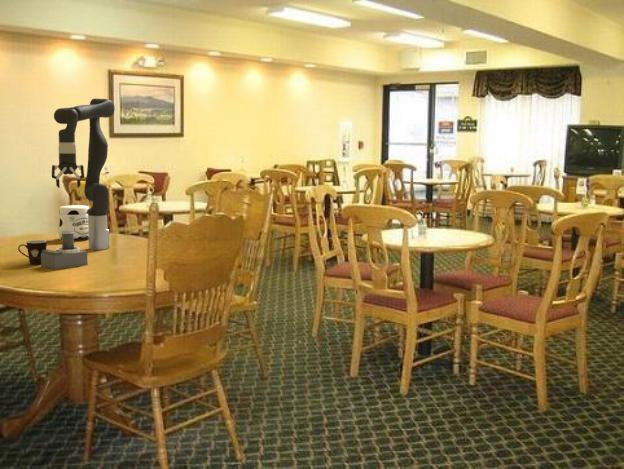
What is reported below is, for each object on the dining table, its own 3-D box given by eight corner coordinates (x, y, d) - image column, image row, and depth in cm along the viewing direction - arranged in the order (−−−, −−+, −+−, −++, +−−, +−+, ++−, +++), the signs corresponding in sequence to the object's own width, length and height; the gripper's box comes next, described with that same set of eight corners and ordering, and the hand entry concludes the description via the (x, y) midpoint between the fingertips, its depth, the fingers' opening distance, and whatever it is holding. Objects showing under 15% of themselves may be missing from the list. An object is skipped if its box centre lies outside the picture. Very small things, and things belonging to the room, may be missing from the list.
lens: (61, 251, 318) (61, 231, 316) (74, 250, 320) (73, 230, 318) (62, 252, 313) (61, 232, 312) (74, 252, 315) (74, 232, 314)
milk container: (85, 242, 381) (84, 208, 379) (53, 241, 381) (52, 208, 379) (95, 237, 398) (95, 205, 396) (65, 236, 399) (64, 204, 396)
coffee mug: (51, 262, 322) (51, 240, 320) (38, 266, 313) (37, 243, 312) (30, 260, 325) (30, 239, 324) (17, 264, 317) (16, 241, 316)
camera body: (73, 261, 325) (72, 245, 324) (87, 264, 319) (87, 248, 317) (41, 266, 313) (40, 249, 312) (55, 269, 306) (54, 252, 305)
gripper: (82, 152, 334) (83, 186, 336) (50, 152, 329) (51, 187, 331) (84, 152, 327) (85, 187, 329) (51, 152, 322) (52, 188, 324)
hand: (68, 187), depth 330 cm, fingers open, 8 cm apart
